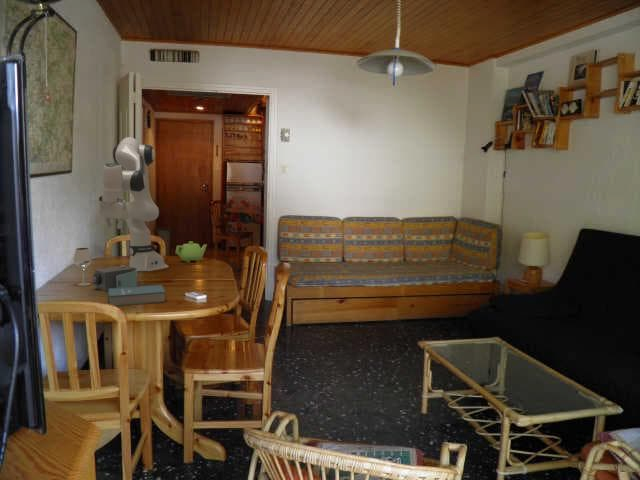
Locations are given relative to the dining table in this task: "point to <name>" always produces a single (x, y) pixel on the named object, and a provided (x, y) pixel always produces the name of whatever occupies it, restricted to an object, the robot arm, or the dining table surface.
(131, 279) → the side door
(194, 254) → the teapot
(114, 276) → the housing
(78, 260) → the wineglass
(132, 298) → the book
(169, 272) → the dining table surface
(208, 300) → the dining table surface
